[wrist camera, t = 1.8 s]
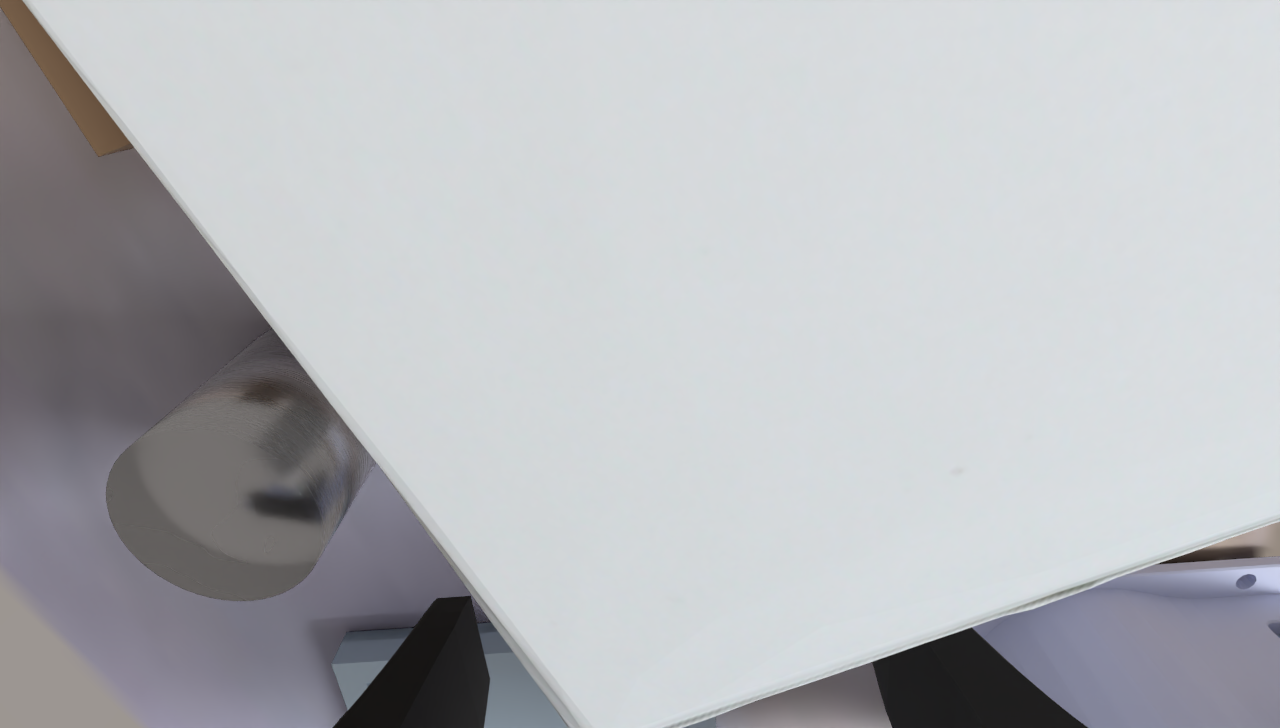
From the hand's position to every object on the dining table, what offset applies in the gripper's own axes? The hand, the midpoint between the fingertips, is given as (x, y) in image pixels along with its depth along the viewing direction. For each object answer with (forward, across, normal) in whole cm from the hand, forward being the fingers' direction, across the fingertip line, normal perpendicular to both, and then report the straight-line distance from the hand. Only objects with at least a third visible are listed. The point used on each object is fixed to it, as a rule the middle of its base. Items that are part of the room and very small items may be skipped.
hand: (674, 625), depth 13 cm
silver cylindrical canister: (+6, +8, -2) cm, 11 cm away
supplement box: (+7, -2, -9) cm, 11 cm away
